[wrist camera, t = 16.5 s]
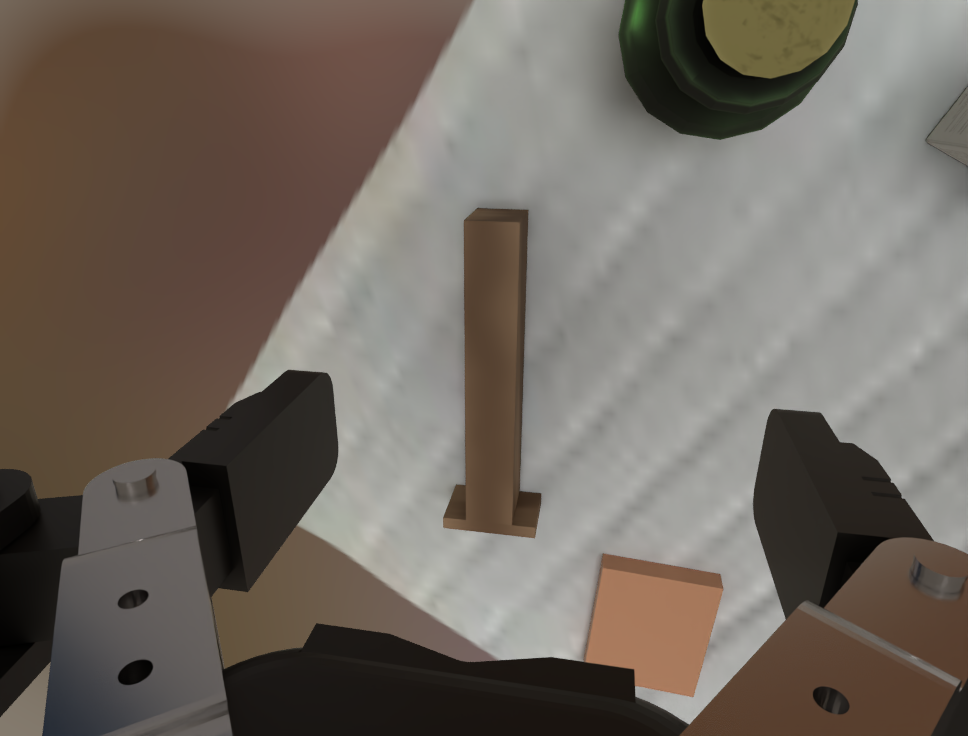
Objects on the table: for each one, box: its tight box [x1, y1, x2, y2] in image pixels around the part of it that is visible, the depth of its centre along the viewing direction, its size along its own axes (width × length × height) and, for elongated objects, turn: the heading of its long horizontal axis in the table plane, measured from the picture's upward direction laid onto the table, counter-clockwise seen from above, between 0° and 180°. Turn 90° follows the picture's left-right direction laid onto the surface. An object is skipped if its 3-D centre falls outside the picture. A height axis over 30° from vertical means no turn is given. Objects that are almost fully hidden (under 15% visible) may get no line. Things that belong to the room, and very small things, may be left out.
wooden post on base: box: [443, 208, 541, 538], centre depth 41 cm, size 6×20×4 cm, turn 179°
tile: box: [584, 554, 723, 697], centre depth 48 cm, size 8×2×10 cm
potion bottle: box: [618, 0, 858, 140], centre depth 26 cm, size 8×8×18 cm
